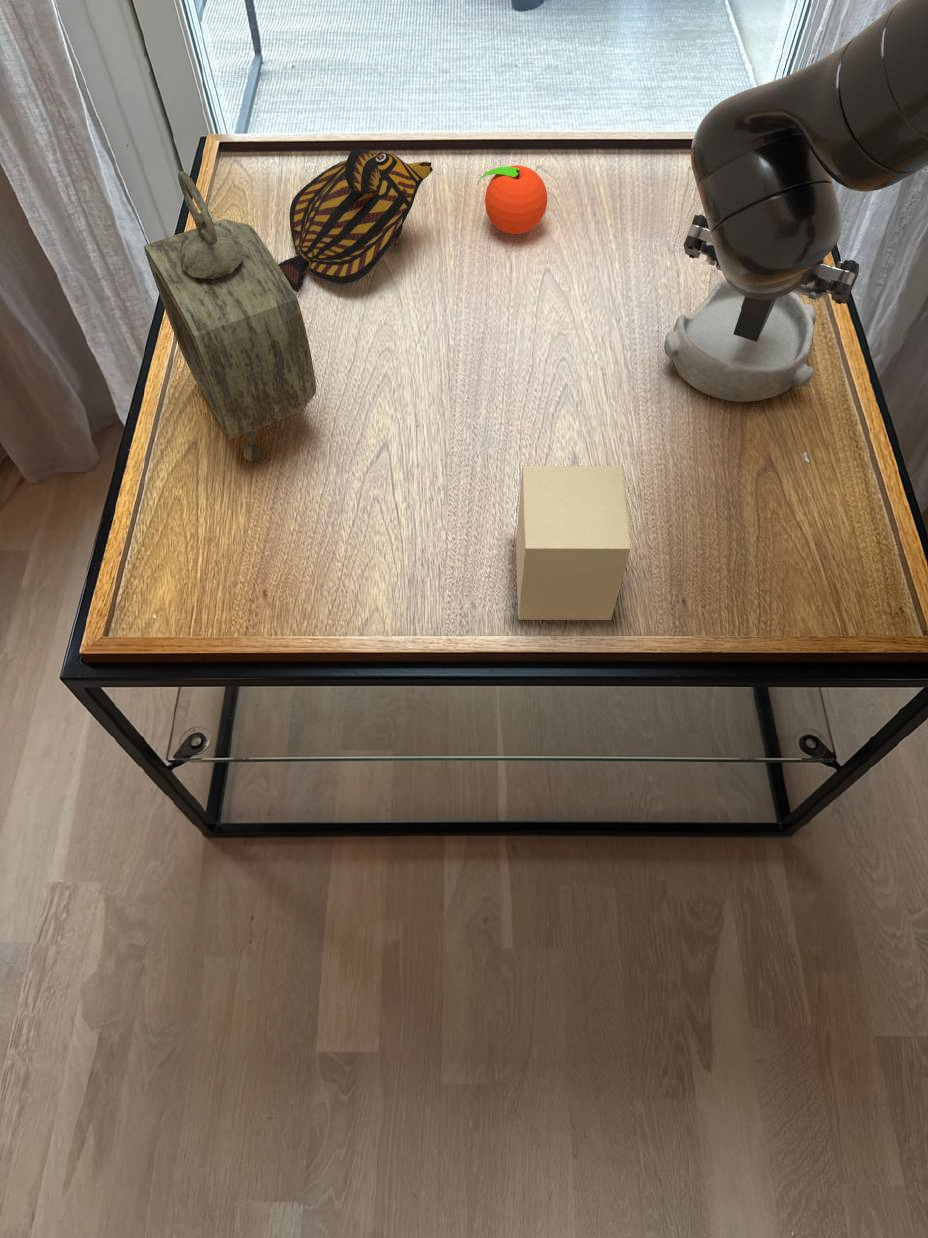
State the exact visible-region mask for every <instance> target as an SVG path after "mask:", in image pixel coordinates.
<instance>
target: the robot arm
mask: <svg viewBox="0 0 928 1238" xmlns="http://www.w3.org/2000/svg"><path fill="white" fill-rule="evenodd" d="M694 133H695V134H694V136H693V139H692V142H691V147H690V163H691V170H692V174H693V177H694V181H695V184H696V188H697V192H698V194H699V198H700V201H701V205H702V209H703V212H704V215H703V214H694V216H693V219H692V221H691V223H690V227H689V229H688V232H687V234H686V237H685V240H684V243H683V249H684V253H685V255H686V256H688V258H690V259H699V258H700V256H701V255H704V256H706V258H705V262H706V263H708V265H710V266H713V267H715V268H716V270H718V271H721V272H722V275H723V278H725V279H726V280H727V282H728V283H729V284H730V286H731V287H732V288H733V289H734V290H736V291H737V292H738V293H740V294H742V295H744V296H746V297H748V298H752V299H756V300H771V299H776V298H779V297H782V296H785V295H787V294H789V293H791V292H793V293H795V294H797V295H801V296H806V297H807V298H808V299H811V300H814V301H816V300H817V299H818V300H820V299H825V298H826V296H827V295H831V300H832V301H833V302H834V303H835V304H838V305H846V304H847V302H848V300H849V298H850V295H851V292H852V290H853V288H854V286H855V283H856V281H857V279H858V277H859V274H860V263H858V262H856V260H854V259H849V260H848V259H843V261H841V260H840V261H837V264H836V267H834V266H833V265H831V264H828V263H827V262H826V257H827V256H828V255H829V254H830V253H831V252H832V251H833V249H834V248H835V247H836V245H837V244H838V242H839V241H840V238H841V233H842V214H841V209H840V204H839V200H838V196H837V195H838V194H837V192H836V188H835V185H834V183H833V181H835V182H836V183H838V184H839V185H840V186H843V187H844V188H847V189H849V190H852V191H856V192H865V193H867V192H868V193H869V192H874V191H879V190H882V189H885V188H888V187H890V186H893V185H895V184H897V183H899V182H901V181H903V180H905V179H907V178H909V177H910V176H912V175H913V174H915V173H917V172H918V171H921V169H924V168H925V167H927V166H928V0H900V1H898V2H897V3H896V4H894V5H893V6H892V7H891V8H889V9H888V10H887V11H885V12H884V13H883V14H881V15H880V16H879V17H878V18H876V19H875V20H874V21H873V22H871V23H870V24H869V25H868V26H867V27H865V28H864V29H862V31H860V32H859V33H858V34H857V35H855V36H854V37H853V38H851V39H850V40H849V41H847V43H845V44H844V45H842V46H841V47H839V48H838V49H836V50H834V51H833V52H832V53H830V54H828V55H826V56H824V57H823V58H820V59H819V60H817V61H814V62H813V63H811V64H809V65H807V66H806V67H804V68H801V69H799V70H797V71H794V72H792V73H790V74H788V75H786V76H783V77H780V78H778V79H775V80H773V81H769V82H766V83H763V84H760V85H758V86H755V87H752V88H748V89H746V90H743V91H740V92H738V93H736V94H734V95H732V96H729V97H727V98H725V99H723V100H721V101H720V102H719V103H717V104H716V105H715V106H713V107H712V108H711V109H710V110H709V111H708V112H707V114H705V116H704V117H703V119H702V120H701V122H700V123H699V124H698V127H697V129H696V131H695V132H694Z"/></svg>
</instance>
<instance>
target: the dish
mask: <svg viewBox="0 0 928 1238" xmlns="http://www.w3.org/2000/svg"><path fill="white" fill-rule="evenodd" d="M744 297H745V296H744V295H742V294H740V293H738V292H737V291H736V290H734V289H733V288H732V287H731V286H730V284H729V283H728V282H727V280H726V279H725V277H723V278H721V279H720V280H719V281H718V282H717V283H716V284H715V285H714V286H713V287H712V289H711V291H710V292H709V294H708V295H707V296H706V297H705V298H704V300H703V301H702V302H701V303H700V304H699V305H698V306H697V308H695V309H694V311H692V312H691V313H690V314H688V315H687V316H685V314H680V315H679V316H678V317H677V318H676V320H675V323H674V326H673V331H670V332H669V331H668V332H667V333H666V336H665V340H664V343H663V344H664V346H663V351H664V353H665V355H666V356H667V357H668V358H672V362H673V364H674V367H675V369H676V372H678V374H679V375H680V376H681V378H682V379H683V380H684V381H685V382H687V384H689V385H690V386H691V387H693V388H694V389H696V390H697V391H700V392H701V393H703V394H706V395H708V396H710V397H714V398H717V399H720V400H725V401H732V402H744V403H745V402H757V401H762V400H767V399H771V398H774V397H776V396H779V395H781V394H783V393H785V392H786V391H788V390H789V389H790V388H791V387H794V388H795V389H801V388H803V387H805V386H807V385H808V384H810V382H811V381H812V378H813V375H814V373H815V368H814V367H813V366H809V365H807V361H808V358H809V355H810V352H811V350H812V346H813V342H814V335H815V324H816V320H817V313H816V309H815V307H814V306H813V304H811V303H806V304H805V302H804V301H803V300H802V298H801V297H800V296H799V294H795V293H793V292H791V293H789V294H787V295H785V296H782V297H779V298H776V300H775V303H774V306H773V308H772V311H771V313H770V315H769V317H768V319H767V322H766V324H765V326H764V328H763V330H762V332H761V334H760V337H759V339H758V341H757V342H755V341H752V340H749V339H746V338H743V337H740V336H737V335H734V334H733V333H734V330H735V327H736V324H737V321H738V318H739V315H740V312H741V306H742V303H743V300H744Z"/></svg>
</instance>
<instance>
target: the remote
mask: <svg viewBox="0 0 928 1238" xmlns="http://www.w3.org/2000/svg"><path fill="white" fill-rule="evenodd" d="M775 300H776V299H771V300H756V299H752V298H748V297H746V296H745V297H744V300H743V303H742V306H741V312H740V315H739V318H738V321H737V324H736V327H735V330H734V333H733V334H734V335H737V336H740V337H743V338H746V339H749V340H752V341H755V342H757V341H758V339H759V337H760V334H761V332H762V330H763V328H764V326H765V324H766V322H767V319H768V317H769V315H770V313H771V311H772V308H773V306H774V303H775Z"/></svg>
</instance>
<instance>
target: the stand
mask: <svg viewBox="0 0 928 1238" xmlns="http://www.w3.org/2000/svg"><path fill="white" fill-rule="evenodd" d="M520 479H521V480H520V489H519V490H520V491H519V501H518V502H519V504H518V514H517V525H516V538H515V554H516V555H515V556H516V562H515V563H516V592H517V597H516V598H517V619H518V620H519V621H526V620H527V621H612V618H613V614H614V612H615V611H614V610H615V607H616V603H617V600H618V597H619V592H620V590H621V585H622V581H623V578H624V575H625V571H626V567H627V564H628V560H629V557H630V554H631V553H630V552H631V550H632V545H631V535H630V526H629V515H628V507H627V506H628V505H627V499H626V487H625V479H624V469H623V465H522V468H521V478H520Z"/></svg>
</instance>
